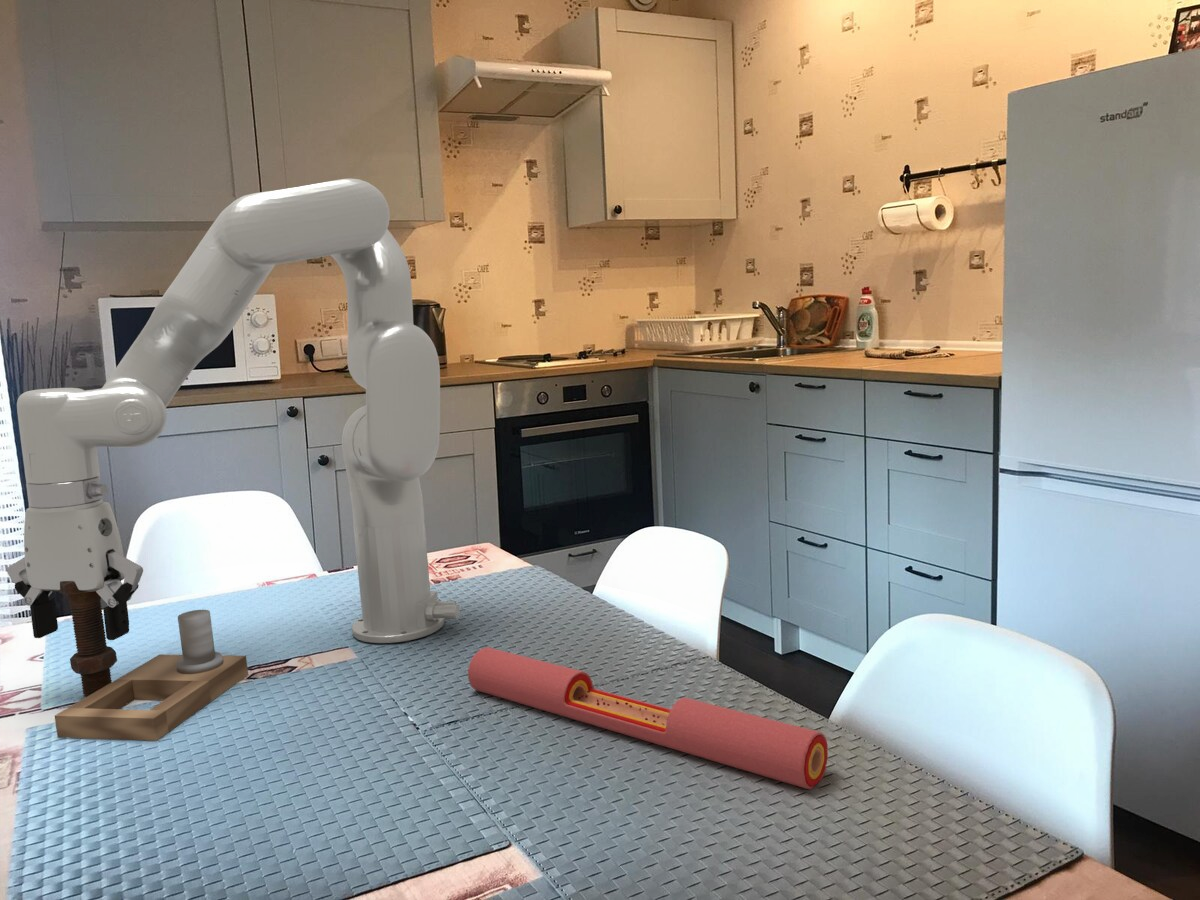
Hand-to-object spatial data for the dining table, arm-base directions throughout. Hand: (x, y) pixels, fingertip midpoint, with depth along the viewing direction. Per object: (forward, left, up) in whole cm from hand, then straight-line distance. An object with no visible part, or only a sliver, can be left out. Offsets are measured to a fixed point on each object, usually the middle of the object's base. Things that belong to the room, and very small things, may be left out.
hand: (82, 635), depth 112 cm
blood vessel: (-66, +5, -8) cm, 67 cm away
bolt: (-1, 0, -8) cm, 8 cm away
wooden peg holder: (-10, +2, -8) cm, 13 cm away
